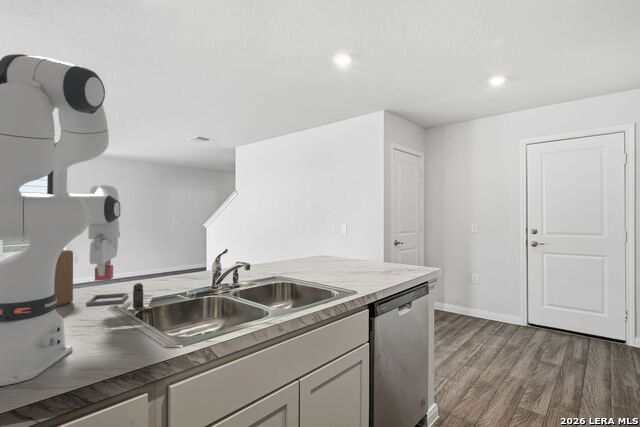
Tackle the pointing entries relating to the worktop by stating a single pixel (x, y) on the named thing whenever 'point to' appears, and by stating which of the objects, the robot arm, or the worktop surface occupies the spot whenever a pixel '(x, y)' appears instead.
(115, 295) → the dice tray
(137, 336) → the worktop surface
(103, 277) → the red cube
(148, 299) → the board
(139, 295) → the pawn
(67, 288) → the wooden block
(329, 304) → the worktop surface
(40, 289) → the robot arm
